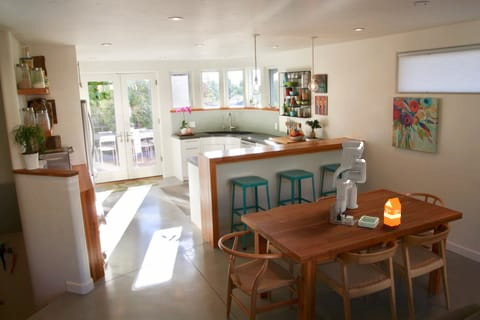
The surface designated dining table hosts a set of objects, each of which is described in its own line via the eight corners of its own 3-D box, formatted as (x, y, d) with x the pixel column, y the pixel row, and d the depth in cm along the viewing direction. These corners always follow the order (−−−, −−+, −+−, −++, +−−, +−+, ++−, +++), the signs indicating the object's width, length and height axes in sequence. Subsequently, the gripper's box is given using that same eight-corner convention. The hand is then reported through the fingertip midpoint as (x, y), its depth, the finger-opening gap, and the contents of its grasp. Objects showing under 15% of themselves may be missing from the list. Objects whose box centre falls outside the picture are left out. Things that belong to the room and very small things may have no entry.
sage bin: (362, 220, 306) (363, 215, 306) (378, 223, 300) (379, 218, 299) (358, 226, 295) (358, 221, 294) (374, 229, 289) (374, 223, 288)
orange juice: (383, 223, 300) (384, 198, 296) (392, 221, 303) (393, 196, 299) (391, 226, 293) (392, 200, 289) (400, 224, 296) (401, 199, 292)
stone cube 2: (347, 221, 304) (347, 215, 303) (353, 222, 302) (353, 216, 301) (345, 222, 300) (345, 217, 300) (351, 223, 298) (351, 218, 297)
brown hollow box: (335, 217, 314) (336, 201, 311) (357, 221, 305) (358, 204, 302) (329, 223, 302) (330, 206, 299) (352, 227, 293) (352, 209, 290)
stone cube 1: (339, 219, 308) (339, 214, 307) (344, 220, 305) (344, 215, 304) (337, 221, 304) (337, 216, 303) (342, 222, 302) (343, 216, 301)
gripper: (340, 194, 310) (339, 214, 313) (333, 199, 295) (332, 221, 299) (349, 195, 306) (349, 216, 309) (343, 201, 291) (342, 223, 295)
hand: (340, 218), depth 304 cm, fingers open, 9 cm apart
